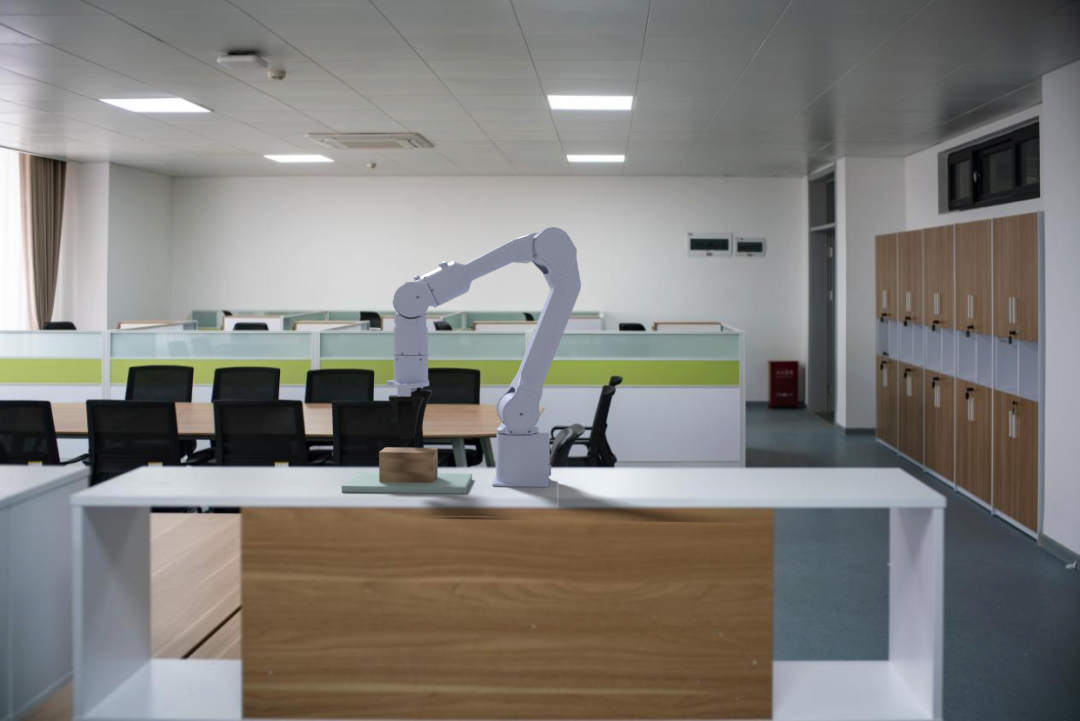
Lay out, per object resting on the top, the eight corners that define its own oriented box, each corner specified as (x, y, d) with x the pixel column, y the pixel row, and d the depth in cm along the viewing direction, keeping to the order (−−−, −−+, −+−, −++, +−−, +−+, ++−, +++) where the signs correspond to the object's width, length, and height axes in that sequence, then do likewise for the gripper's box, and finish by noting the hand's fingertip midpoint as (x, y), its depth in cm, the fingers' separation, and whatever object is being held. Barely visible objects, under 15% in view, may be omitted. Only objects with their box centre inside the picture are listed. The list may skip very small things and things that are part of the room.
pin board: (472, 479, 156) (472, 459, 155) (464, 493, 144) (464, 472, 143) (358, 477, 156) (358, 458, 156) (341, 491, 144) (341, 470, 144)
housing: (437, 477, 152) (437, 448, 152) (433, 482, 147) (433, 452, 147) (385, 476, 152) (385, 447, 152) (379, 481, 147) (379, 452, 147)
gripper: (394, 352, 156) (395, 429, 157) (378, 357, 142) (379, 441, 143) (434, 352, 156) (434, 429, 157) (422, 357, 142) (422, 441, 143)
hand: (411, 435), depth 150 cm, fingers open, 7 cm apart
